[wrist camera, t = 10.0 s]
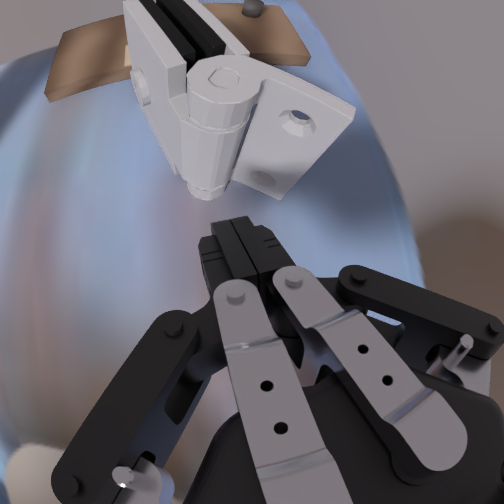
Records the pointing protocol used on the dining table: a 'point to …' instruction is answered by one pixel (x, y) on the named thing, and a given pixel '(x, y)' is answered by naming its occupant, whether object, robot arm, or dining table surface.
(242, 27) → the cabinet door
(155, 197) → the dining table surface
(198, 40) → the hinge
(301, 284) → the robot arm
